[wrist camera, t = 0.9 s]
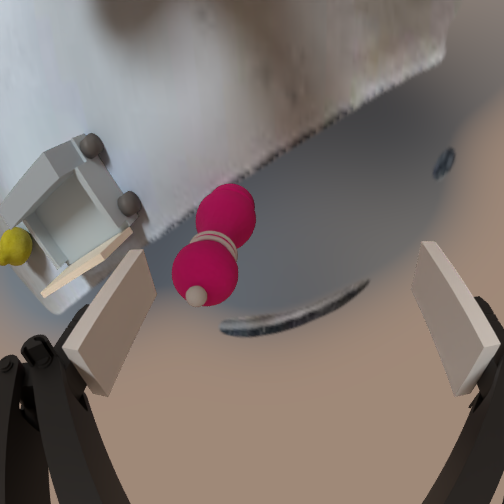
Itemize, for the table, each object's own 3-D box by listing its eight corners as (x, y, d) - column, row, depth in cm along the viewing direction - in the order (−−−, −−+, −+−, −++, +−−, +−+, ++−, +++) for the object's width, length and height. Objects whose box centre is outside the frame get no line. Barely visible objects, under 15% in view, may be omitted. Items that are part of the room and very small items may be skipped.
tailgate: (67, 266, 46) (40, 292, 39) (129, 226, 41) (100, 253, 34) (71, 272, 47) (45, 299, 40) (134, 233, 42) (105, 261, 34)
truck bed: (25, 193, 43) (-8, 216, 36) (92, 126, 37) (53, 141, 30) (71, 260, 50) (45, 290, 42) (147, 211, 43) (120, 241, 36)
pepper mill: (208, 174, 40) (151, 256, 23) (263, 186, 40) (246, 277, 23) (201, 223, 44) (151, 323, 27) (252, 234, 44) (231, 342, 27)
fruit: (33, 258, 51) (-3, 295, 40) (11, 235, 49) (-27, 268, 38) (43, 238, 48) (4, 276, 38) (20, 213, 46) (-22, 246, 35)
